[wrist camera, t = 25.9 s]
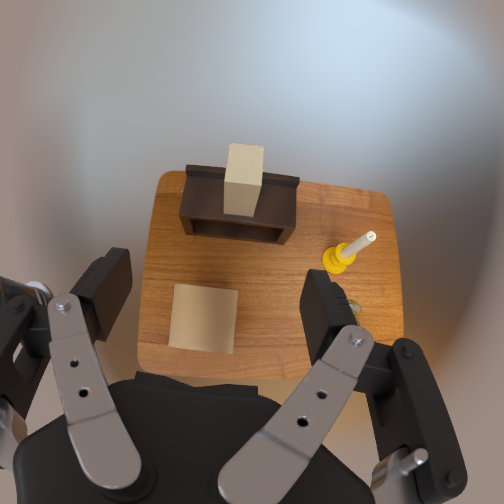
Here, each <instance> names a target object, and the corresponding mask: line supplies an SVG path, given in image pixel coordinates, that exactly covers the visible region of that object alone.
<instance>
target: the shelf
mask: <svg viewBox="0 0 504 504" xmlns="http://www.w3.org/2000/svg"><path fill="white" fill-rule="evenodd" d="M185 170H186V175H187V177H186V182H185V187H184V192H183V197H182V202H181V207H180V212H179V217H180V219H181V222H182V225H183V228H184V230H185V233H186V234H187V235H197V236H207V237H216V238H226V239H235V240H244V241H254V242H263V243H272V244H281V245H284V244H285V242H286V241H287V239H288V238H289V237H290V235H291V234H292V232H293V231H294V229H295V228H296V188H297V186H298V184H299V182H300V178H299V177H294V176H287V175H280V174H273V173H266V172H263V173H262V186H261V189H260V193H259V197H258V200H257V204H256V208H255V211H254V215H253V217H249V216H240V215H231V214H224V180H225V173H226V168H222V167H210V166H198V165H186V169H185Z"/></svg>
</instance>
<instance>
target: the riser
mask: <svg viewBox="0 0 504 504" xmlns="http://www.w3.org/2000/svg"><path fill="white" fill-rule="evenodd" d="M238 293H239V290H232V289H222V288H213V287H204V286H195V285H186V284H178V283H175V289H174V297H173V305H172V314H171V324H170V334H169V345H168V346H169V347H175V348H182V349H190V350H198V351H206V352H215V353H225V354H233V349H234V338H235V326H236V315H237V304H238Z"/></svg>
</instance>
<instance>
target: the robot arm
mask: <svg viewBox="0 0 504 504" xmlns="http://www.w3.org/2000/svg"><path fill="white" fill-rule="evenodd" d="M131 288H132V270H131V261H130V253H129V250H128V249H123V248H114V247H113V248H111V249H110V250H109V252H108V253H107V254H106V256H105V257H100V258H99V259H97V260H95V261H94V262H93V263H92V264H91V265H90V266H89V268H88V269H87V270H86V271H85V273H84V274H83V276H81V278H80V279H79V280H78V282H77V283H76V284H75V286H74V287H73V288H72V290H71V291H70V292H69V293H64V294H60V295H57V296H56V297H54V298H53V299H52V300H51V301H50V302H49V304H48V302H47V299H46V296H45V295H44V293H43V292H42V291H41V290H40V289H39V288H36V287H33V286H28V285H25V284H22V283H19V282H16V281H13V280H10V279H7V278H4V277H1V276H0V469H7V470H8V471H10V472H12V473H14V478H15V483H16V491H17V504H442V503H444V502H446V501H448V500H450V499H453V498H455V497H457V496H458V495H460V494H461V493H462V492H463V490H464V489H465V487H466V484H467V479H468V478H467V471H466V467H465V463H464V460H463V456H462V453H461V450H460V447H459V443H458V440H457V437H456V434H455V431H454V428H453V425H452V422H451V420H450V417H449V414H448V411H447V409H446V406H445V403H444V401H443V398H442V396H441V393H440V390H439V388H438V386H437V383H436V381H435V378H434V376H433V374H432V371H431V369H430V367H429V365H428V362H427V360H426V358H425V356H424V354H423V351H422V349H421V348H420V346H419V345H418V344H417V343H415V342H414V341H412V340H410V339H406V338H400V339H397V340H396V341H395V342H394V344H393V345H392V346H389V345H385V344H381V343H377V342H374V339H373V336H372V335H371V334H370V332H368V331H367V330H366V329H364V328H362V327H360V326H358V323H357V321H356V319H355V316H354V314H353V311H352V309H351V307H350V306H349V302H348V300H347V299H346V298H347V297H346V295H345V293H344V291H343V289H342V288H341V287H340V286H339V285H338V284H337V283H336V282H331V281H330V278H329V276H328V274H327V271H325V270H315V269H309V270H308V272H307V276H306V279H305V283H304V287H303V290H302V294H301V297H300V313H301V318H302V322H303V327H304V332H305V337H306V341H307V346H308V351H309V356H310V361H311V366H313V367H312V368H311V369H310V371H309V372H308V373H307V375H306V376H305V377H304V378H303V380H302V381H301V382H300V384H299V385H298V386H297V387H296V389H295V390H294V391H293V393H292V394H291V395H290V396H289V398H288V399H287V400H286V401H285V403H284V404H283V405H280V404H279V403H277V402H276V401H273V400H271V399H269V398H267V397H264V396H261V395H258V386H247V385H233V384H223V385H214V386H205V387H193V386H189V385H187V384H184V383H181V382H179V381H176V380H174V379H171V378H168V377H166V376H161V375H155V374H150V373H144V372H139V371H137V373H136V375H135V379H130V380H123V381H119V382H116V383H113V384H111V385H109V384H108V382H107V379H106V377H105V374H104V372H103V369H102V366H101V364H100V361H99V358H98V356H97V353H96V350H95V347H94V343H95V341H96V340H100V341H104V342H105V341H106V340H107V337H108V335H109V333H110V331H111V329H112V327H113V325H114V323H115V321H116V319H117V317H118V315H119V313H120V311H121V309H122V307H123V305H124V303H125V301H126V299H127V297H128V295H129V293H130V291H131ZM19 343H21V345H22V346H23V347H22V349H21V351H20V353H19V355H18V356H17V358H16V360H15V362H14V363H13V354H14V352H15V350H16V348H17V346H18V344H19ZM50 359H52V365H53V370H54V375H55V379H56V383H57V387H58V391H59V395H60V399H61V403H62V406H63V409H64V414H63V415H61V416H60V417H58V418H57V419H55V420H53V421H52V422H50V423H49V424H47V425H45V426H44V427H42V428H40V429H39V430H37V431H36V432H34V433H32V434H31V435H29V436H28V435H27V426H26V423H25V419H26V416H27V414H28V411H29V408H30V405H31V403H32V400H33V398H34V395H35V393H36V390H37V388H38V385H39V383H40V380H41V378H42V376H43V374H44V372H45V369H46V367H47V365H48V363H49V361H50ZM352 391H357V392H362V393H365V394H366V398H367V402H368V407H369V411H370V416H371V420H372V425H373V430H374V435H375V440H376V444H377V450H378V454H379V460H380V462H379V463H378V464H377V465H376V467H375V468H374V470H373V472H372V482H371V486H370V488H369V486H368V485H367V484H366V483H365V482H364V481H363V480H362V479H360V478H359V477H358V476H357V475H356V474H354V472H352V471H351V470H350V469H349V468H348V467H347V466H346V465H344V464H343V463H342V462H341V461H340V460H339V459H338V458H337V457H336V456H334V455H333V454H332V453H331V452H330V451H329V450H328V449H327V448H326V447H325V446H324V445H322V442H323V440H324V439H325V437H326V435H327V434H328V432H329V431H330V429H331V428H332V426H333V424H334V423H335V421H336V419H337V418H338V416H339V414H340V412H341V411H342V409H343V407H344V406H345V404H346V402H347V400H348V398H349V397H350V395H351V393H352Z"/></svg>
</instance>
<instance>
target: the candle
mask: <svg viewBox="0 0 504 504" xmlns="http://www.w3.org/2000/svg"><path fill="white" fill-rule="evenodd" d="M375 239H376V234H375V233H374V232H373V231H370V232H368V233H366V234H365V235H363V236H362V237H360V238H359V239H357V240H356V241H354V242H353V243H351V244H348V243H341V244H339V245H338V246H337V247H331V248H328V249H327V250H326V251H325V252H324V253H323V256H322V264H323V266H324V268H325V269H326V271H328V272H329V273H331V274H339V273H342V272H343V271H344V270H345V269H346V267H347V264H351V263H352V262H353V261H354V259H355V253H356V252H358V251H360V250H361V249H363V248H364V247H366V246H367V245H369V244H370V243H372V242H373V241H374V240H375Z"/></svg>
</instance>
